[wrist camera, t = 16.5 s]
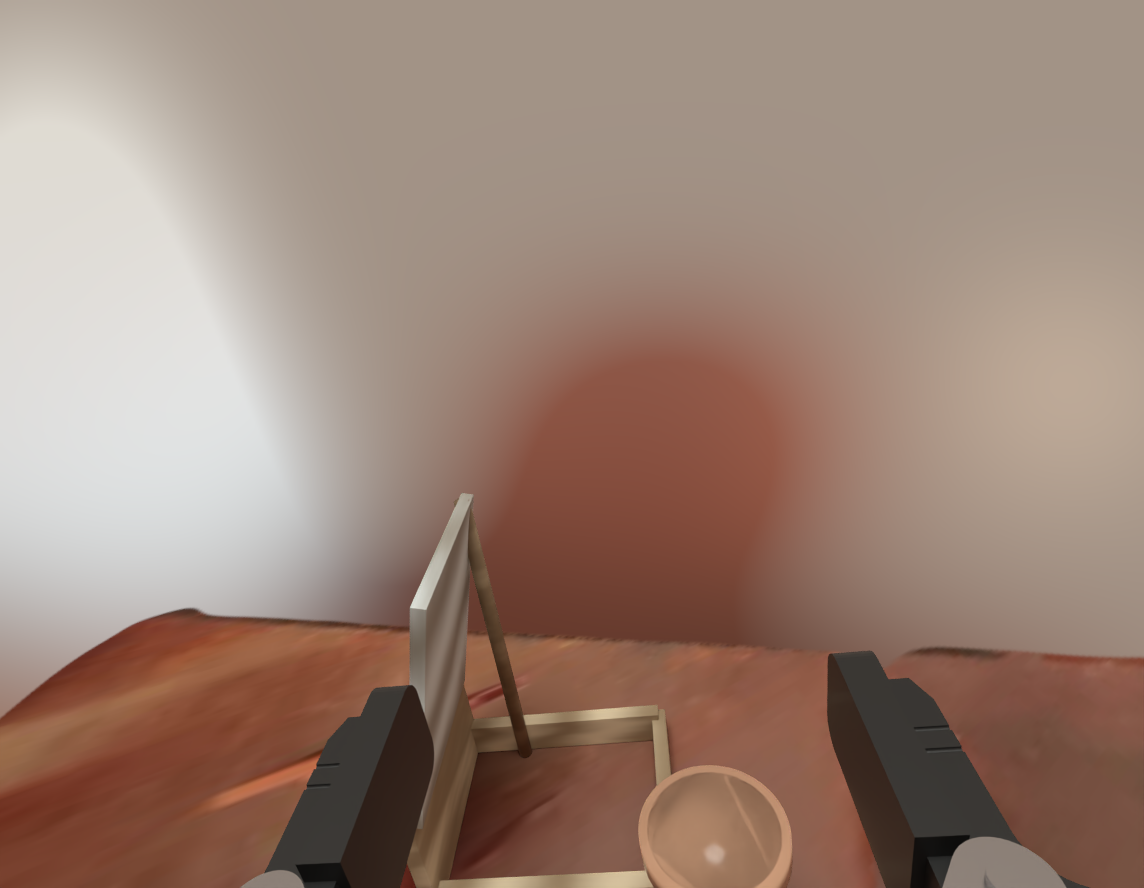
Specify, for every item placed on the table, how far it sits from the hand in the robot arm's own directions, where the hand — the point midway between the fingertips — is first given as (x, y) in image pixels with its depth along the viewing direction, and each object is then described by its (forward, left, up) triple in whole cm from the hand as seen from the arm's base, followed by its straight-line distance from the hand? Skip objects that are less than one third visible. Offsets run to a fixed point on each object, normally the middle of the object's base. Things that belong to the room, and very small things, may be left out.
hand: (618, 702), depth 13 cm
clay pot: (+2, +11, -31) cm, 33 cm away
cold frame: (-8, +22, -31) cm, 39 cm away
